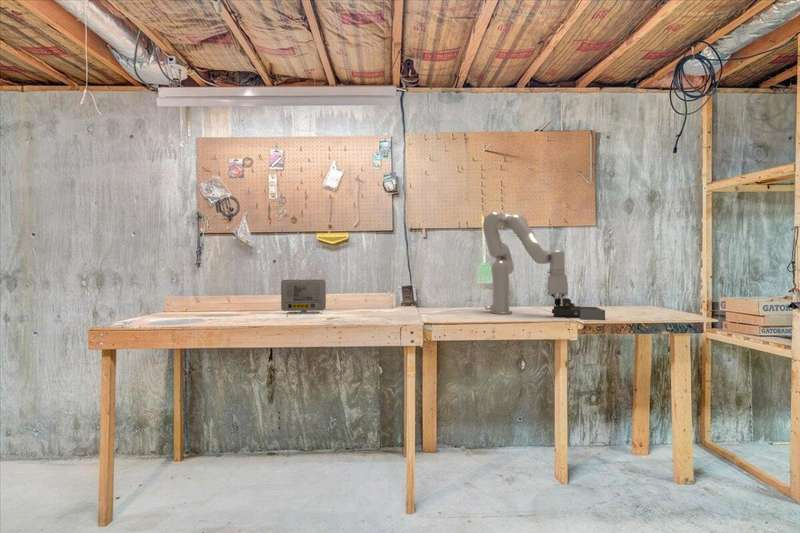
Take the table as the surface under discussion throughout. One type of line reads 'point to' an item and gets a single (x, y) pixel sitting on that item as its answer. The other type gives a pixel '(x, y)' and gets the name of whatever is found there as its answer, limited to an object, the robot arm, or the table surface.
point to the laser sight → (569, 309)
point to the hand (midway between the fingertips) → (557, 305)
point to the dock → (593, 314)
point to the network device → (303, 296)
